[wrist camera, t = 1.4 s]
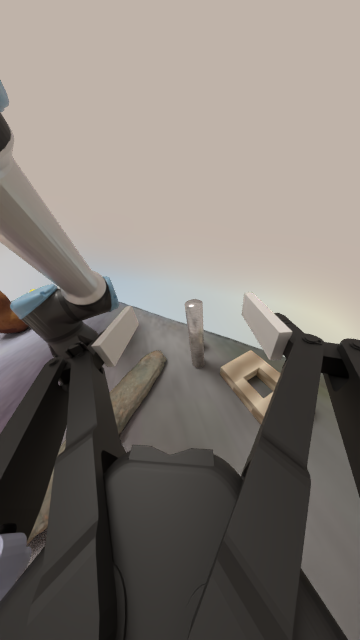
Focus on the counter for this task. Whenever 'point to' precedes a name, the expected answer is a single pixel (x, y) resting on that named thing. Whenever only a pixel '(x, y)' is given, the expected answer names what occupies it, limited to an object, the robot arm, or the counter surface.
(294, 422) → the robot arm
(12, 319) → the butternut squash
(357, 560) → the counter surface
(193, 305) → the steel pin
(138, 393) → the elongated rock
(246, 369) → the guide block
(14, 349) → the counter surface
